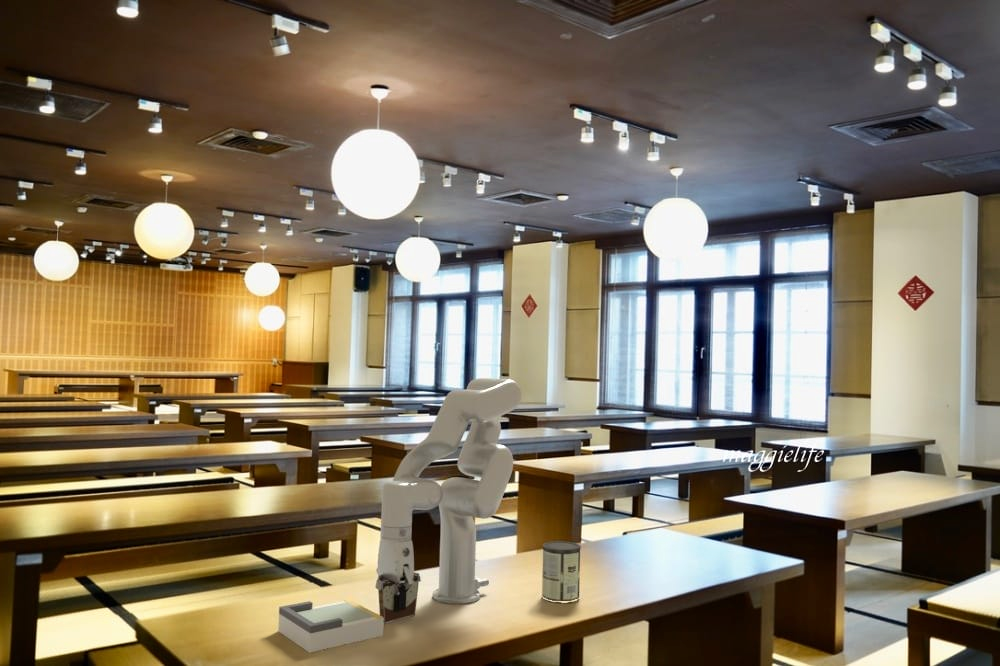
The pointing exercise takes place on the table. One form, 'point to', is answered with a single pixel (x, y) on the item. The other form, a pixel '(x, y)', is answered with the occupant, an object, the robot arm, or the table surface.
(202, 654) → the table surface
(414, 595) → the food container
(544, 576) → the coffee can
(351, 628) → the loading dock
